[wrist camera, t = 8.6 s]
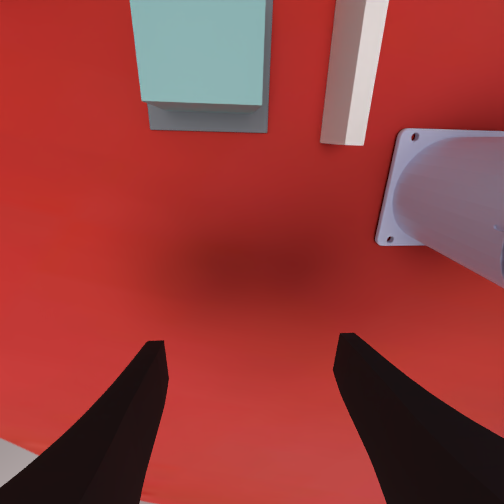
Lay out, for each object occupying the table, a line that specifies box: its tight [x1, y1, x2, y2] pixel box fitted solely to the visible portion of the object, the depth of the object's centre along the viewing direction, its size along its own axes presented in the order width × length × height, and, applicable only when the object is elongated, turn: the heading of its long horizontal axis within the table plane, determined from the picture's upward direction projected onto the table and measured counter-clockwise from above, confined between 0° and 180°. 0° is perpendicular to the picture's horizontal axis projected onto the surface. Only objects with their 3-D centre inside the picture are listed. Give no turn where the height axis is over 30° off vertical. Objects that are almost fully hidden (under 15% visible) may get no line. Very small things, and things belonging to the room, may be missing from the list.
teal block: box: [130, 0, 266, 114], centre depth 13 cm, size 5×5×5 cm
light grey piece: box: [320, 0, 389, 145], centre depth 13 cm, size 13×12×4 cm
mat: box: [147, 0, 273, 133], centre depth 15 cm, size 7×7×1 cm
